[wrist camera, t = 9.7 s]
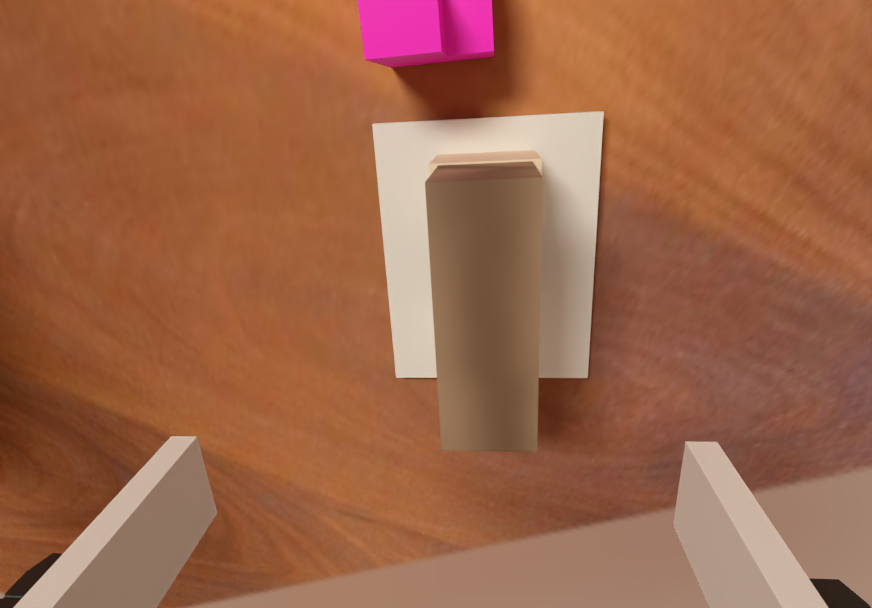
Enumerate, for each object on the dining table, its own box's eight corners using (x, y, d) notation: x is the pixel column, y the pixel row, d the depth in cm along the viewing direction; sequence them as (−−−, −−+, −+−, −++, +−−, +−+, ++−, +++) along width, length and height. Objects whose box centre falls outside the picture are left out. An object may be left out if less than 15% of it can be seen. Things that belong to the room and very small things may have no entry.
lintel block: (449, 391, 33) (441, 450, 27) (438, 165, 28) (424, 182, 22) (529, 391, 32) (537, 452, 27) (532, 161, 27) (542, 177, 22)
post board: (398, 371, 40) (383, 415, 34) (375, 123, 33) (352, 128, 28) (585, 371, 38) (601, 417, 33) (600, 111, 32) (623, 114, 26)
